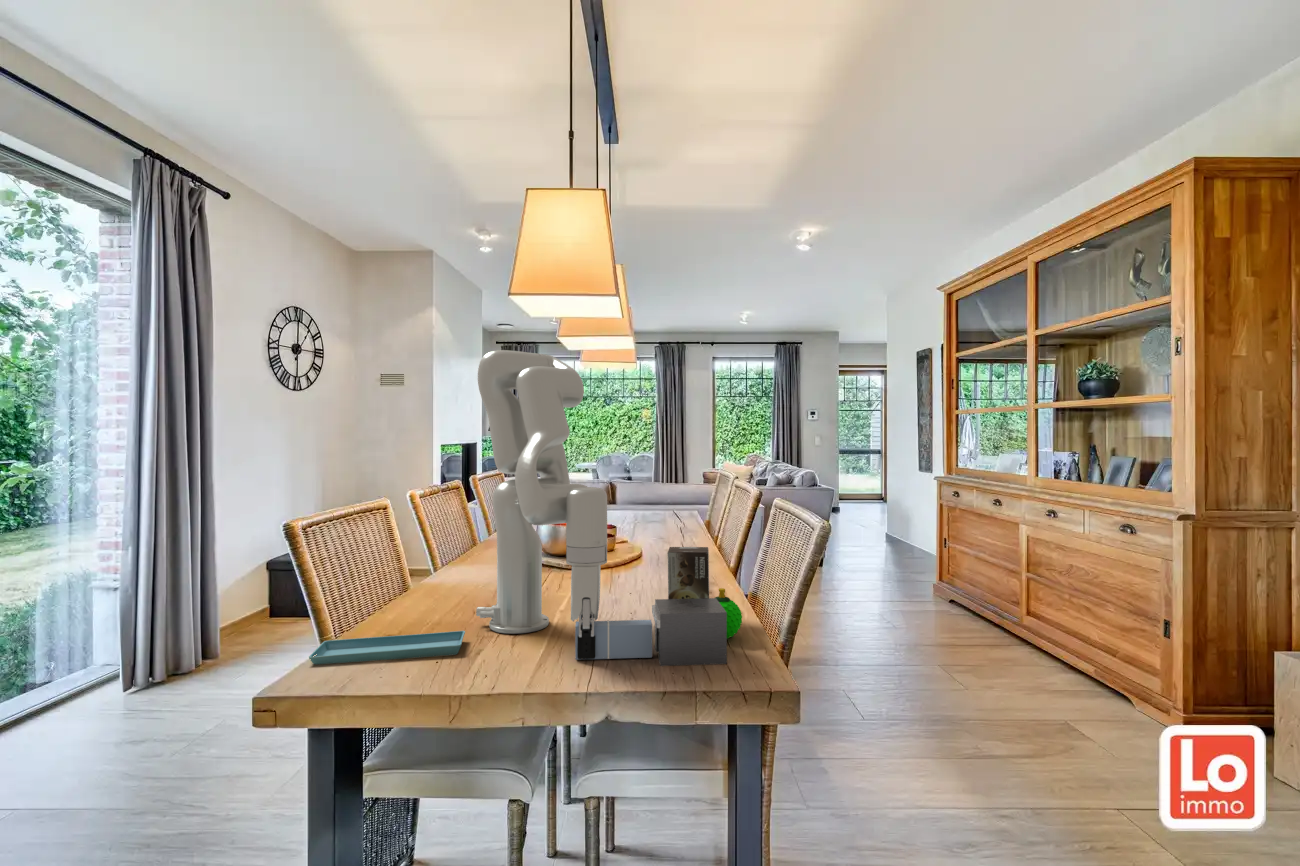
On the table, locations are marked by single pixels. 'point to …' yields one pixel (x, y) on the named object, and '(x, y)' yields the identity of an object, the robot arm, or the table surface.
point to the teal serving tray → (388, 647)
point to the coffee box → (688, 572)
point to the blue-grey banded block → (620, 639)
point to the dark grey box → (690, 631)
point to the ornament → (730, 613)
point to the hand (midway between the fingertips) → (586, 653)
